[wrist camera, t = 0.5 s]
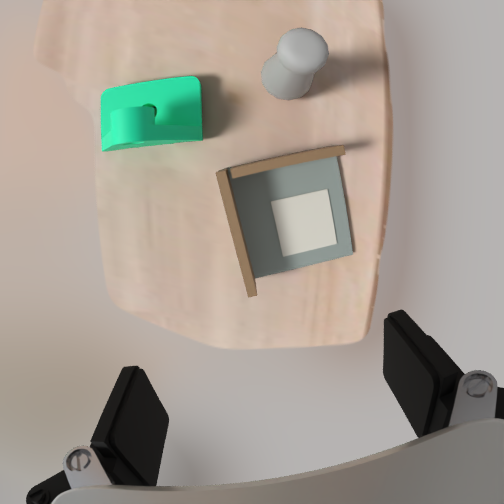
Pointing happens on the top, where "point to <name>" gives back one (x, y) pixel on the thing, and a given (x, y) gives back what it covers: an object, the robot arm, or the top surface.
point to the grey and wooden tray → (286, 212)
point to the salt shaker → (294, 64)
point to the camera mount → (151, 113)
